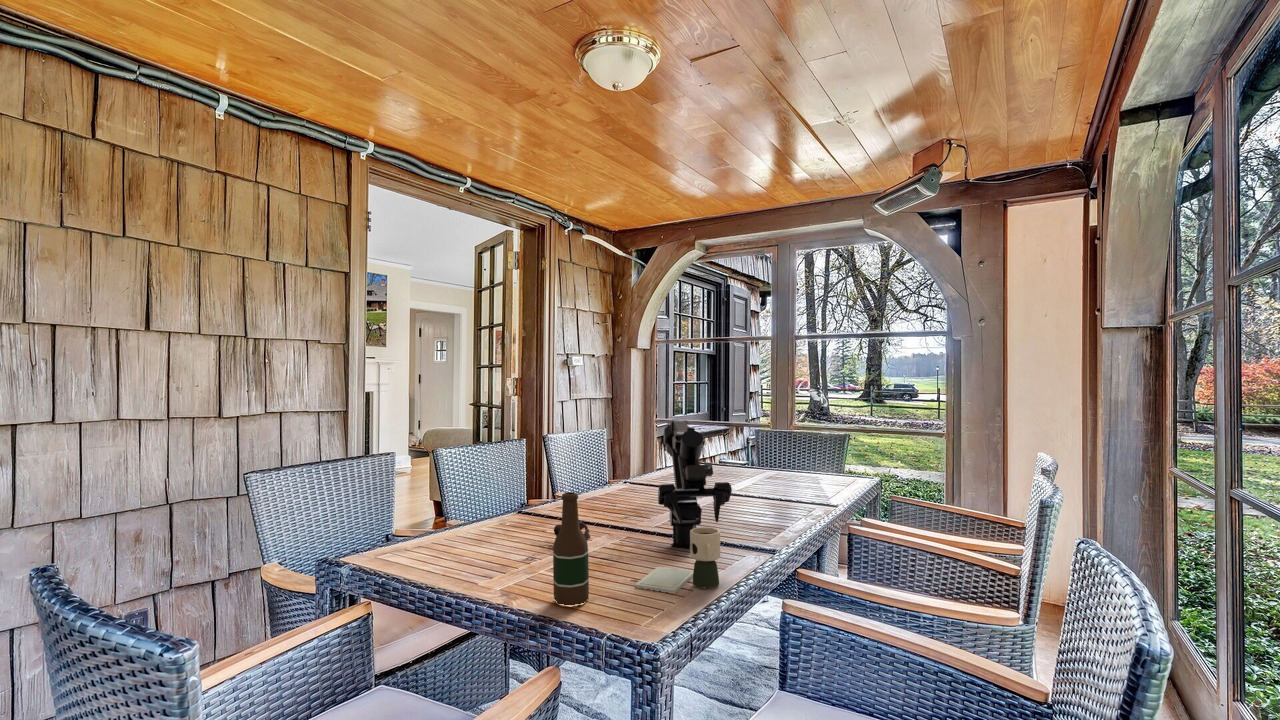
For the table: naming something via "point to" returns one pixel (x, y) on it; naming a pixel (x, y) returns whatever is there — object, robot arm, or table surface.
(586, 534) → the pottery mug
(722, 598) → the table surface
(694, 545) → the character mug
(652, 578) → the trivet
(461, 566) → the table surface
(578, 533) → the beer bottle
